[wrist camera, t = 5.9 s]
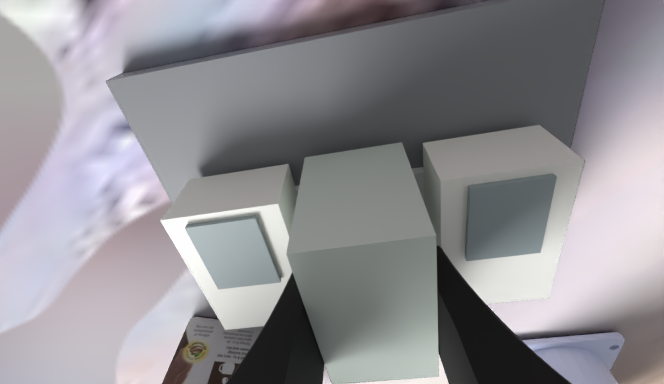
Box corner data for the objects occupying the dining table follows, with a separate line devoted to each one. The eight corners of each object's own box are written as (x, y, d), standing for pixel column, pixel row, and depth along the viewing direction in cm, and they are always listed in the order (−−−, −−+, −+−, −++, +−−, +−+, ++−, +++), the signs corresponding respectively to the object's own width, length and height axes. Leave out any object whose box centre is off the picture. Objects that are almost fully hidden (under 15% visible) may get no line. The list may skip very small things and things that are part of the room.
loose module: (411, 263, 15) (438, 376, 11) (334, 272, 15) (332, 384, 11) (401, 142, 12) (436, 235, 8) (304, 157, 12) (286, 254, 8)
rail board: (526, 282, 18) (571, 358, 14) (244, 312, 20) (223, 385, 16) (587, -20, 10) (712, -15, 7) (121, 73, 12) (34, 114, 9)
